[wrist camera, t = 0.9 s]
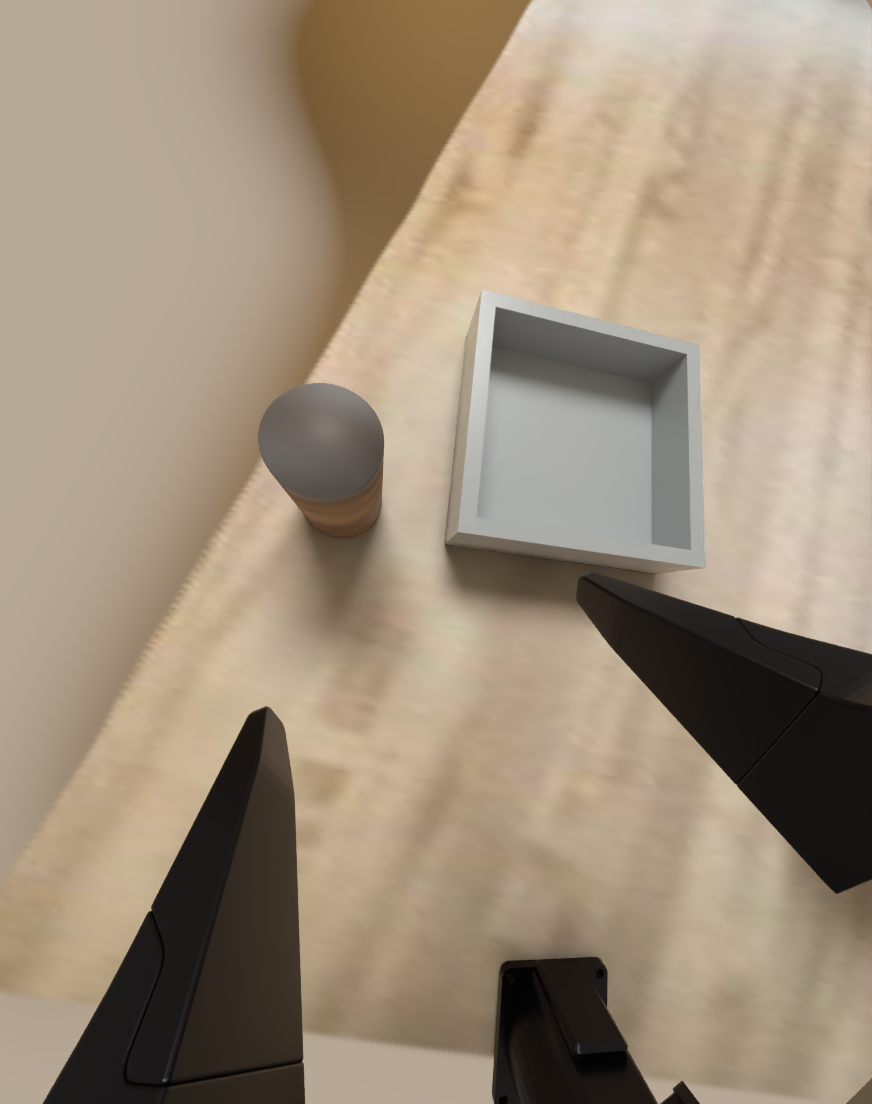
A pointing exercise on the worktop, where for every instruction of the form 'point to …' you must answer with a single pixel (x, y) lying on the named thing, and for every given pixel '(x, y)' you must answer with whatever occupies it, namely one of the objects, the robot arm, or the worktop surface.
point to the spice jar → (326, 456)
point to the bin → (577, 441)
